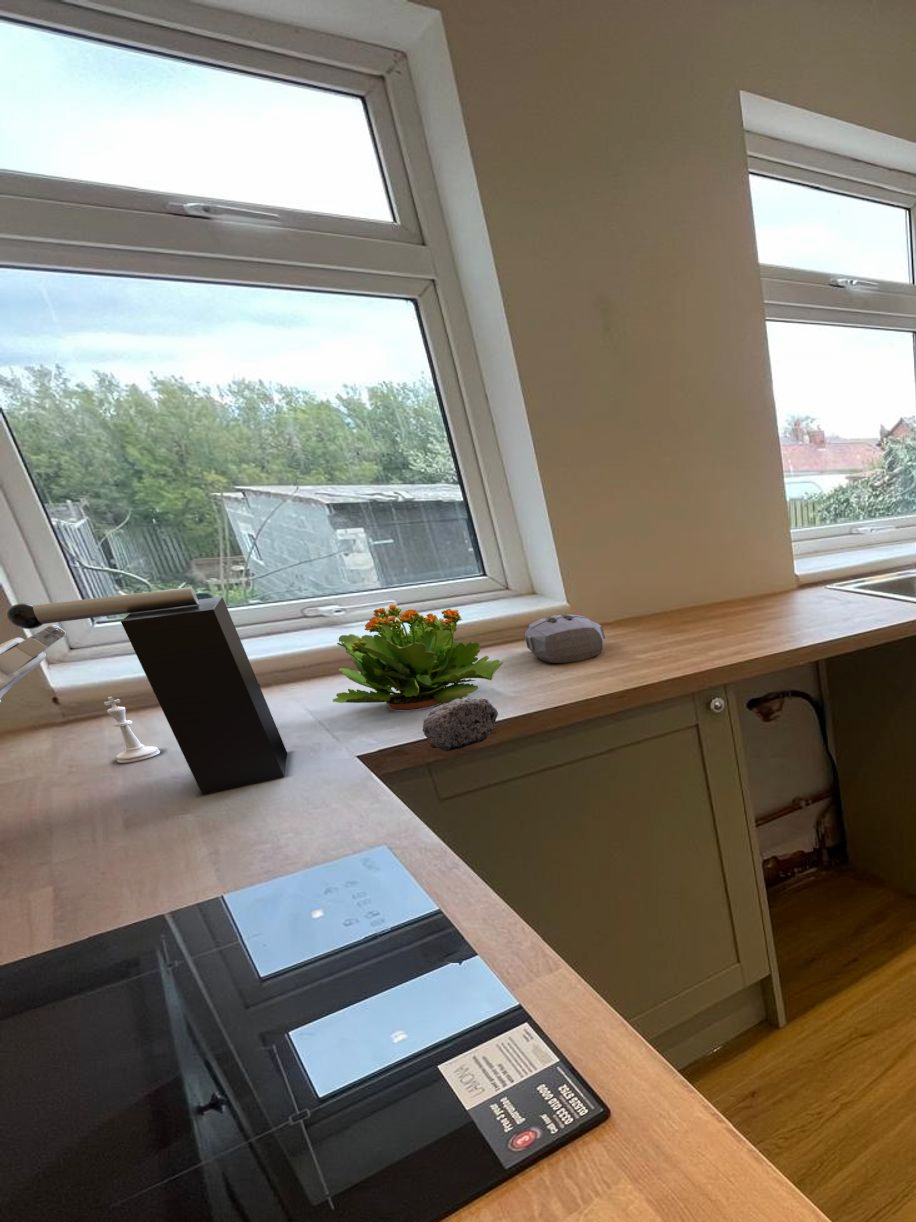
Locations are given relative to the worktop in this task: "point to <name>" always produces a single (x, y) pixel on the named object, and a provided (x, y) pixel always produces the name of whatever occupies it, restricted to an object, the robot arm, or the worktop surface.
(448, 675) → the potted flower
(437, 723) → the pumice stone
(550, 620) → the soft grey pack
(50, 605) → the matchstick with dark head
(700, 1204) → the worktop surface
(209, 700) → the black box
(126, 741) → the chess piece
